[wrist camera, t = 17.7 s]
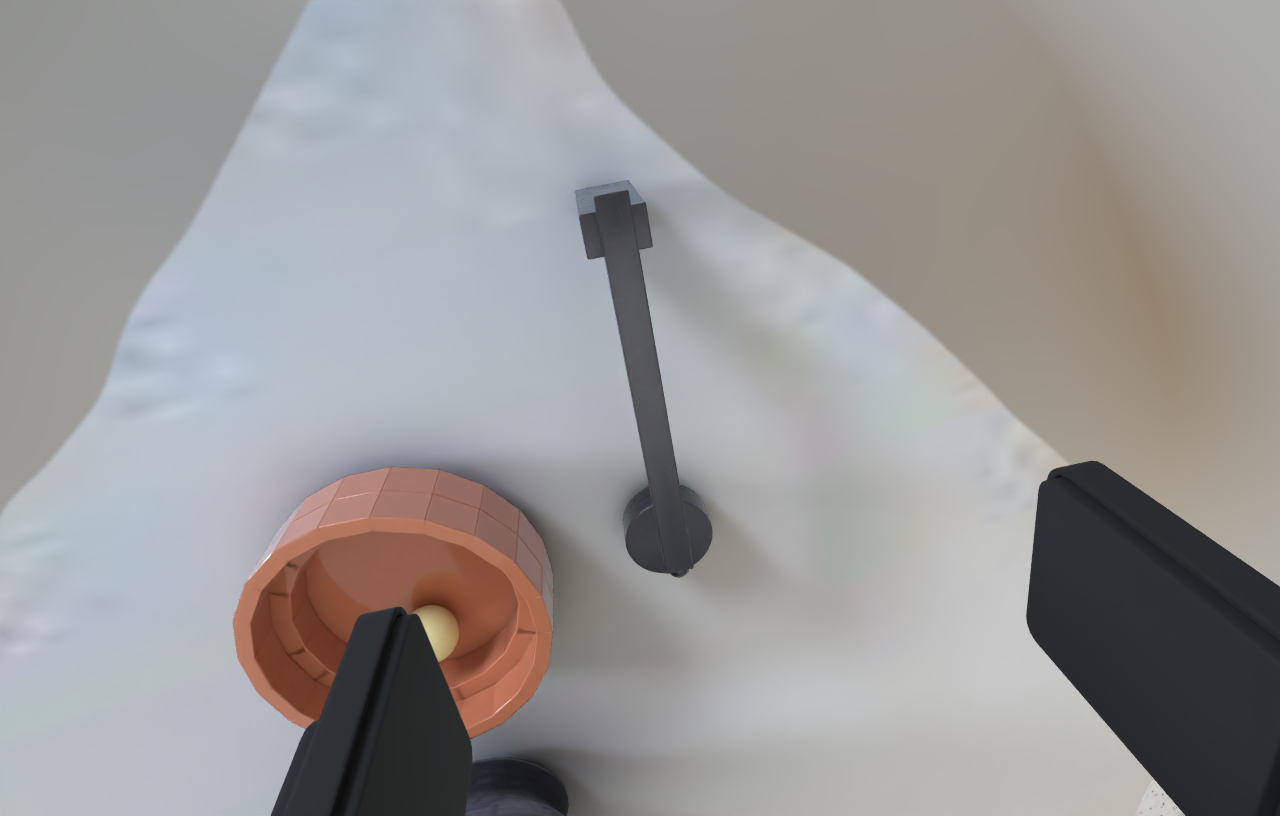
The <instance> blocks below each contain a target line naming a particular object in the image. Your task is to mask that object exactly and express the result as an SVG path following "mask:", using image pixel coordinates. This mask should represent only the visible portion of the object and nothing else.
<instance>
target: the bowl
mask: <svg viewBox="0 0 1280 816" xmlns="http://www.w3.org/2000/svg"><path fill="white" fill-rule="evenodd" d="M427 605H437V606H441V607H444V608H446V609H447V610H449V611H450V612H451V613H452V614H453V615H454V617H455V618H456V620H457V622H458V626H459V639H458V642H457V645H456V647H455V648H454V650H453V651H452V653H451V654H450V655H449V656H448V657H446V658H445V659H444V660H442V661H440V662H439V665H440V667H441V669H442V672H443V674H444V677H445V679H446V681H447V684H448V686H449V689H450V691H451V694H452V696H453V698H454V701H455V703H456V706H457V708H458V710H459V713H460V715H461V718H462V720H463V723H464V725H465V727H466V730H467V732H468V735H469V738H470V739H472V738H474V737H476V736H478V735H480V734H482V733H484V732H486V731H488V730H490V729H492V728H494V727H496V726H499V725H501V724H502V723H504V722H505V721H506V720H507V719H508V718H509V717H510V716H511V715H512V714H514V713H515V712H516V711H517V710H518V709H519V708H520V707H521V706H523V705H524V704H525V703H526V702H527V701H528V700H529V699H530V698H532V696H533V694H534V692H535V690H536V689H537V687H538V685H539V683H540V681H541V680H542V678H543V676H544V674H545V672H546V671H547V669H548V666H549V661H550V652H551V643H552V635H553V572H552V569H551V565H550V562H549V558H548V555H547V551H546V548H545V544H544V542H543V540H542V538H541V537H540V536H539V534H538V533H537V532H536V530H535V529H534V528H533V526H532V525H531V524H530V522H529V521H528V520H527V518H526V517H525V516H524V514H523V513H522V512H521V510H519V509H518V508H516V507H515V506H513V505H512V504H511V503H509V502H508V501H506V500H505V499H503V498H502V497H501V496H499V495H498V494H496V493H495V492H493V491H492V490H491V489H489V488H488V487H486V486H484V485H483V484H480V483H477V482H474V481H471V480H468V479H465V478H462V477H459V476H457V475H454V474H451V473H448V472H445V471H442V470H434V469H419V468H404V467H388V468H383V469H378V470H374V471H369V472H364V473H359V474H354V475H349V476H346V477H343V478H341V479H339V480H337V481H336V482H334V483H332V484H330V485H328V486H326V487H325V488H323V489H321V490H319V491H317V492H315V493H314V494H312V495H310V496H308V497H307V498H306V499H305V500H304V501H303V502H302V503H301V504H300V505H299V506H298V508H297V509H296V510H295V511H294V512H293V513H292V514H291V515H290V517H289V518H288V519H287V520H286V521H285V522H284V523H283V524H282V526H281V527H280V528H279V530H278V531H277V533H276V535H275V536H274V538H273V539H272V541H271V543H270V544H269V546H268V547H267V549H266V551H265V552H264V554H263V555H262V557H261V558H260V560H259V562H258V563H257V565H256V566H255V568H254V569H253V571H252V573H251V574H250V576H249V577H248V579H247V581H246V582H245V584H244V587H243V590H242V593H241V596H240V599H239V602H238V605H237V608H236V612H235V615H234V618H233V629H234V636H235V644H236V652H237V659H238V661H239V662H240V664H241V666H242V668H243V669H244V671H245V673H246V674H247V676H248V678H249V679H250V681H251V683H252V685H253V686H254V688H255V690H256V691H257V693H259V695H260V696H261V697H262V698H263V699H265V700H266V701H267V702H268V703H269V704H270V705H272V706H273V707H274V708H275V709H276V710H277V711H279V712H280V713H281V714H282V715H283V716H284V717H285V718H287V719H288V720H289V721H291V722H292V723H294V724H296V725H298V726H300V727H302V728H304V729H306V728H307V727H308V726H309V725H310V724H311V723H312V722H313V721H317V720H319V717H320V715H321V712H322V709H323V707H324V704H325V702H326V699H327V696H328V694H329V691H330V688H331V686H332V683H333V680H334V678H335V675H336V672H337V670H338V667H339V665H340V662H341V659H342V657H343V654H344V651H345V649H346V646H347V643H348V641H349V638H350V635H351V633H352V630H353V627H354V625H355V622H356V620H357V618H358V617H359V616H360V615H362V614H365V613H370V612H374V611H379V610H384V609H389V608H393V607H398V606H399V607H402V608H403V609H404V610H405V611H406V613H407V614H408V615H409V614H411V613H412V612H414V611H415V610H417V609H418V608H421V607H423V606H427Z"/></svg>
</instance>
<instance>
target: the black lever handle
mask: <svg viewBox="0 0 1280 816" xmlns="http://www.w3.org/2000/svg"><path fill="white" fill-rule="evenodd" d="M575 196H576V202H577V208H578V214H579V220H580V225H581V230H582V234H583V239H584V244H585V249H586V254H587V258H588V259H594V258H600V257H604V258H605V264H606V269H607V274H608V279H609V284H610V289H611V294H612V299H613V304H614V310H615V315H616V320H617V325H618V330H619V335H620V340H621V345H622V350H623V356H624V361H625V366H626V371H627V376H628V381H629V386H630V391H631V396H632V402H633V407H634V412H635V417H636V422H637V427H638V432H639V437H640V442H641V448H642V453H643V458H644V463H645V468H646V473H647V478H648V483H649V487H648V488H646V489H644V490H642V491H641V492H639V493H638V494H637V495H636V496H634V498H633V499H632V500H631V501H630V502H629V504H628V505H627V507H626V509H625V512H624V516H623V528H624V535H625V541H626V547H627V550H628V553H629V555H630V556H631V558H632V559H633V560H634V561H635V562H636V563H637V564H638V565H639V566H641V567H643V568H644V569H647V570H649V571H652V572H657V573H667V574H669V573H670V574H671V575H672V576H674V577H677V578H680V577H683V576H685V575H686V574H687V573H688V571H689V569H693V565H694V564H695V563H697V562H698V561H699V560H700V559H701V558H702V557H703V556H704V555H705V553H706V552H707V550H708V549H709V546H710V544H711V540H712V526H711V523H710V520H709V517H708V514H707V511H706V508H705V506H704V503H703V501H702V500H701V498H700V497H699V496H698V495H697V494H696V493H695V492H694V491H692V490H691V489H689V488H687V487H685V486H682V485H679V480H678V474H677V468H676V462H675V456H674V451H673V445H672V439H671V433H670V427H669V422H668V416H667V410H666V404H665V398H664V393H663V387H662V381H661V375H660V369H659V364H658V358H657V352H656V346H655V340H654V335H653V329H652V323H651V317H650V311H649V306H648V300H647V294H646V288H645V282H644V277H643V271H642V265H641V259H640V253H639V250H640V249H645V248H650V247H652V246H653V244H652V238H651V232H650V226H649V220H648V214H647V208H646V203H645V202H644V200H643V199H642V198H641V196H640V195H639V194H638V192H637V191H636V190H635V188H634V187H633V186H632V184H631V183H630V182H629V181H628V180H627V181H622V182H616V183H611V184H606V185H601V186H596V187H591V188H586V189H580V190H576V191H575Z"/></svg>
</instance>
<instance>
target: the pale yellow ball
mask: <svg viewBox="0 0 1280 816" xmlns="http://www.w3.org/2000/svg"><path fill="white" fill-rule="evenodd" d="M411 614H417V615H418V616H419V617H420V619H421V621H422V623H423V626H424V628H425V631H426V633H427V635H428V638H429V640H430V643H431V645H432V648H433V650H434V652H435V655H436V657H437V660H438V662H440V661H442V660H444V659H445V658H446V657H448V656H449V655H450V654H451V653H452V651H453V650H454V648H455V647H456V645H457V642H458V639H459V626H458V622H457V620H456V618H455V617H454V615H453V614H452V613H451V612H450V611H449V610H447V609H446V608H444V607H441V606H437V605H427V606H423V607H421V608H418V609H417V610H415V611H414V612H412V613H411Z"/></svg>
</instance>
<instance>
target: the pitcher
mask: <svg viewBox="0 0 1280 816" xmlns="http://www.w3.org/2000/svg"><path fill="white" fill-rule="evenodd" d="M568 807H569V805H568V797H567V793H566V790H565V788H564V786H563V784H562V782H561V781H560V780H559V779H558V778H557V777H556V776H555V775H554V774H553V773H552V772H551V771H549V770H547V769H545V768H543V767H541V766H539V765H537V764H534V763H531V762H528V761H525V760H519V759H512V758H492V759H485V760H478V761H474V762H472V767H471V775H470V783H469V791H468V799H467V806H466V814H465V816H566V815H567V812H568Z"/></svg>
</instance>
